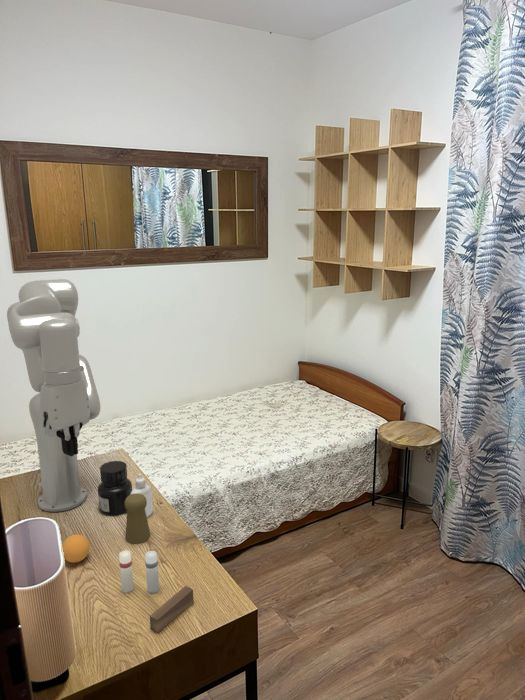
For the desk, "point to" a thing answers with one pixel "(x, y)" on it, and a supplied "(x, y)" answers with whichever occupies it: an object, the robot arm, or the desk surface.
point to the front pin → (126, 571)
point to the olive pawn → (136, 519)
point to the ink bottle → (113, 488)
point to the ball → (75, 548)
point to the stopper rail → (171, 609)
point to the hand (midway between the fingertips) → (70, 453)
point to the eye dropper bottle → (144, 493)
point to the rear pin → (152, 571)
